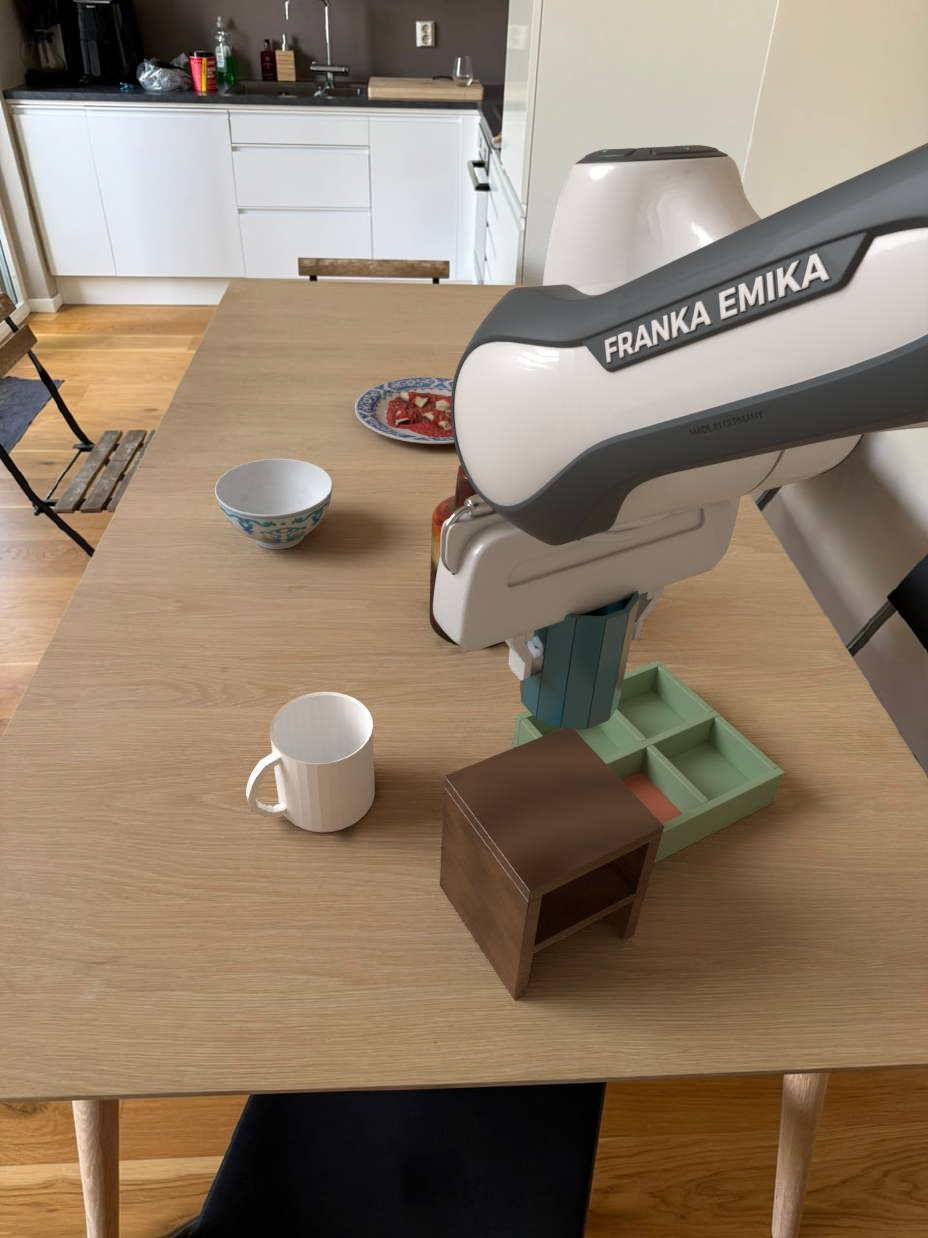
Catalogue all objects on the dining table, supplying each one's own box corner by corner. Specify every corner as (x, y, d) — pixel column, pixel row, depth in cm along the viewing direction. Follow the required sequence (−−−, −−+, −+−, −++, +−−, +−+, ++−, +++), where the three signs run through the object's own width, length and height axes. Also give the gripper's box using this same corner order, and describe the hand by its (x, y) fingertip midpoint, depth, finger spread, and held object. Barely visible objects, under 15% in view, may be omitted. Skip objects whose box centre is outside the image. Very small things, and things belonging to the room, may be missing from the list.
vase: (502, 588, 113) (515, 442, 100) (530, 641, 105) (548, 489, 92) (420, 599, 110) (422, 450, 98) (442, 654, 102) (447, 499, 89)
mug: (357, 751, 89) (353, 682, 84) (388, 817, 83) (387, 746, 77) (237, 785, 85) (226, 714, 80) (261, 857, 79) (249, 786, 73)
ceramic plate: (331, 439, 143) (330, 422, 141) (384, 380, 163) (384, 364, 161) (486, 465, 138) (487, 448, 137) (521, 401, 158) (523, 385, 156)
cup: (637, 709, 60) (660, 600, 54) (556, 742, 57) (573, 631, 52) (579, 653, 64) (595, 548, 59) (502, 681, 61) (511, 574, 56)
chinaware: (324, 571, 114) (320, 519, 109) (208, 562, 114) (199, 510, 110) (343, 511, 126) (341, 462, 121) (238, 503, 126) (232, 454, 122)
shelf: (634, 934, 74) (664, 826, 66) (514, 1000, 69) (530, 892, 61) (552, 833, 82) (570, 724, 74) (439, 885, 77) (444, 775, 69)
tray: (773, 802, 86) (785, 772, 84) (624, 878, 79) (632, 848, 76) (651, 689, 99) (658, 659, 96) (512, 745, 91) (515, 715, 88)
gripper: (474, 533, 43) (463, 736, 52) (773, 450, 52) (722, 635, 60) (414, 478, 48) (413, 673, 56) (700, 409, 56) (662, 588, 65)
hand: (575, 653), depth 58 cm, fingers closed on cup, 6 cm apart
